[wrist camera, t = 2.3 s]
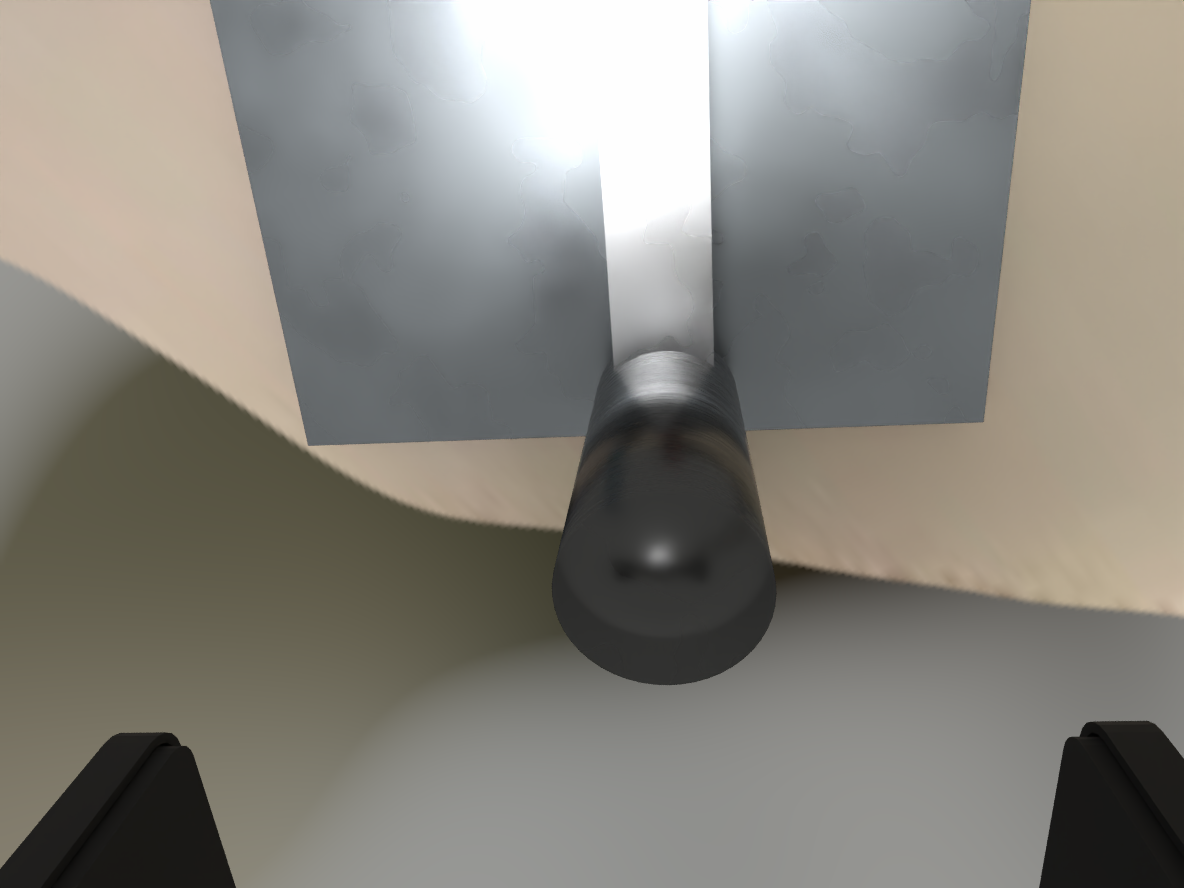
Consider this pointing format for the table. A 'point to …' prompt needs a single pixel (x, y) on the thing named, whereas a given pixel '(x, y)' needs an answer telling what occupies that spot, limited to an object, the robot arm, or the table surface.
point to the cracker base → (576, 219)
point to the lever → (661, 384)
